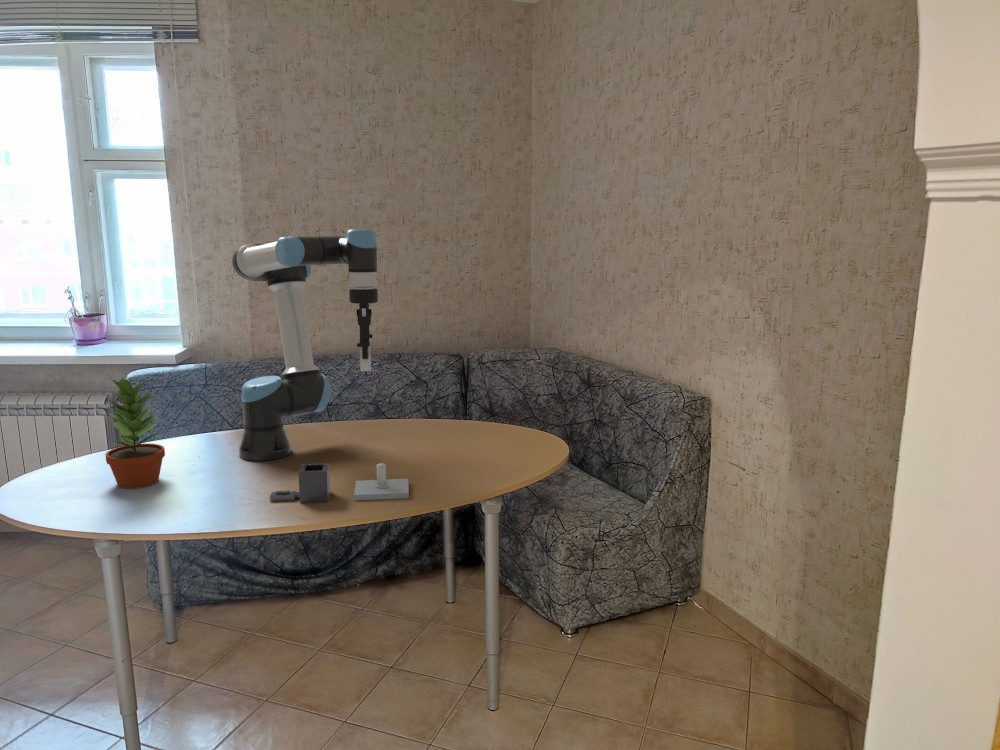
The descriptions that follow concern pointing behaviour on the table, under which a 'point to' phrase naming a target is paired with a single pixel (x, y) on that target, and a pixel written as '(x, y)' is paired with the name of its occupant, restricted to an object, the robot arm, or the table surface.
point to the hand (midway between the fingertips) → (365, 366)
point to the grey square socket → (308, 485)
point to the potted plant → (134, 440)
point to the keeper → (381, 487)
